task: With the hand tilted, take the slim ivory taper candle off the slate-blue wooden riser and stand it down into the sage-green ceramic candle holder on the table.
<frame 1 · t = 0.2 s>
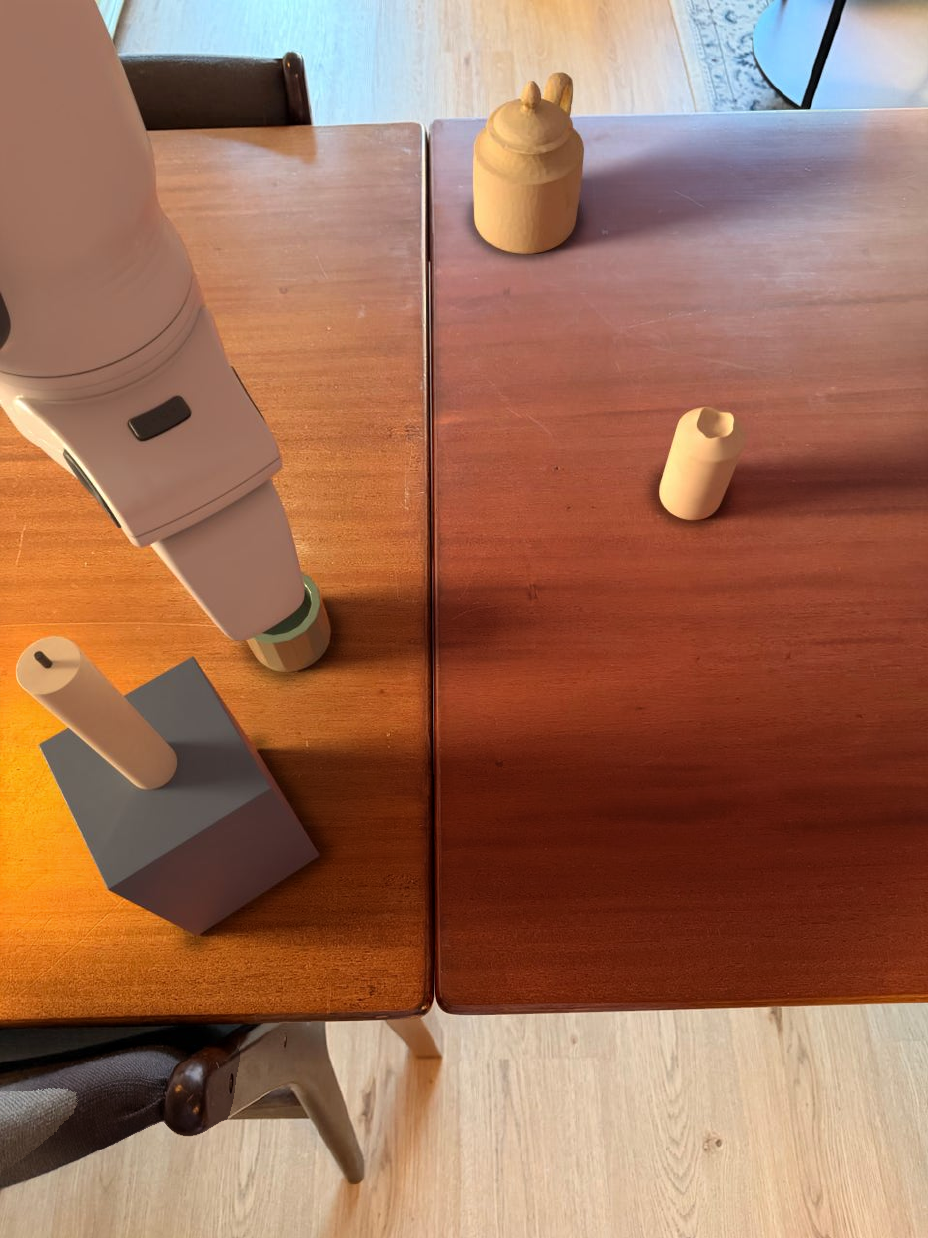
hand: (197, 539, 48), 26 cm above the table, tool pointing down, fingers open, 8 cm apart
taper: (152, 765, 52), point 17 cm above the table, touching riser
riser: (227, 838, 67), on the table
sugar bowl: (523, 208, 98), on the table
holder: (290, 635, 74), on the table
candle: (689, 496, 80), on the table
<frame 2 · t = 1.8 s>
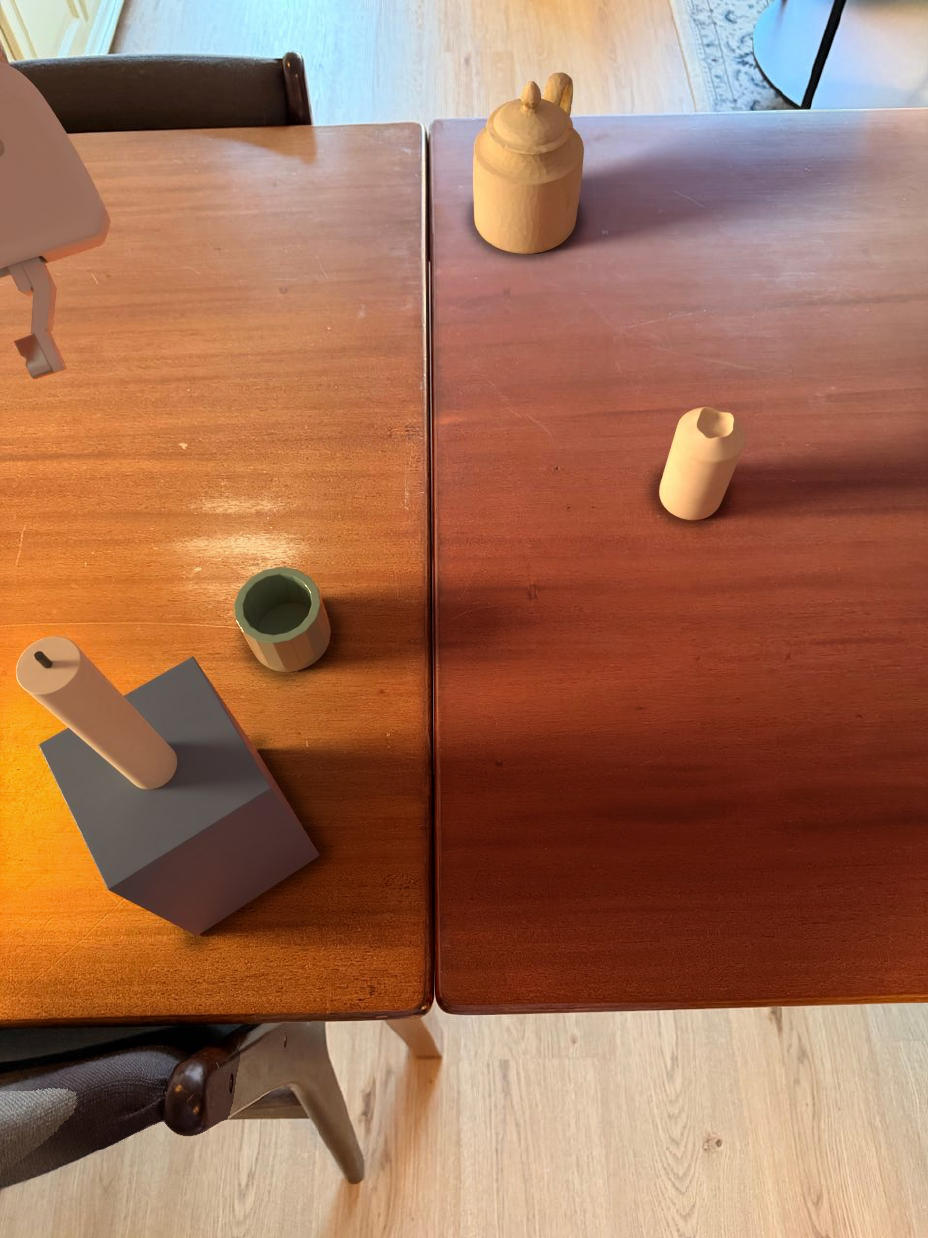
nothing on the table moved.
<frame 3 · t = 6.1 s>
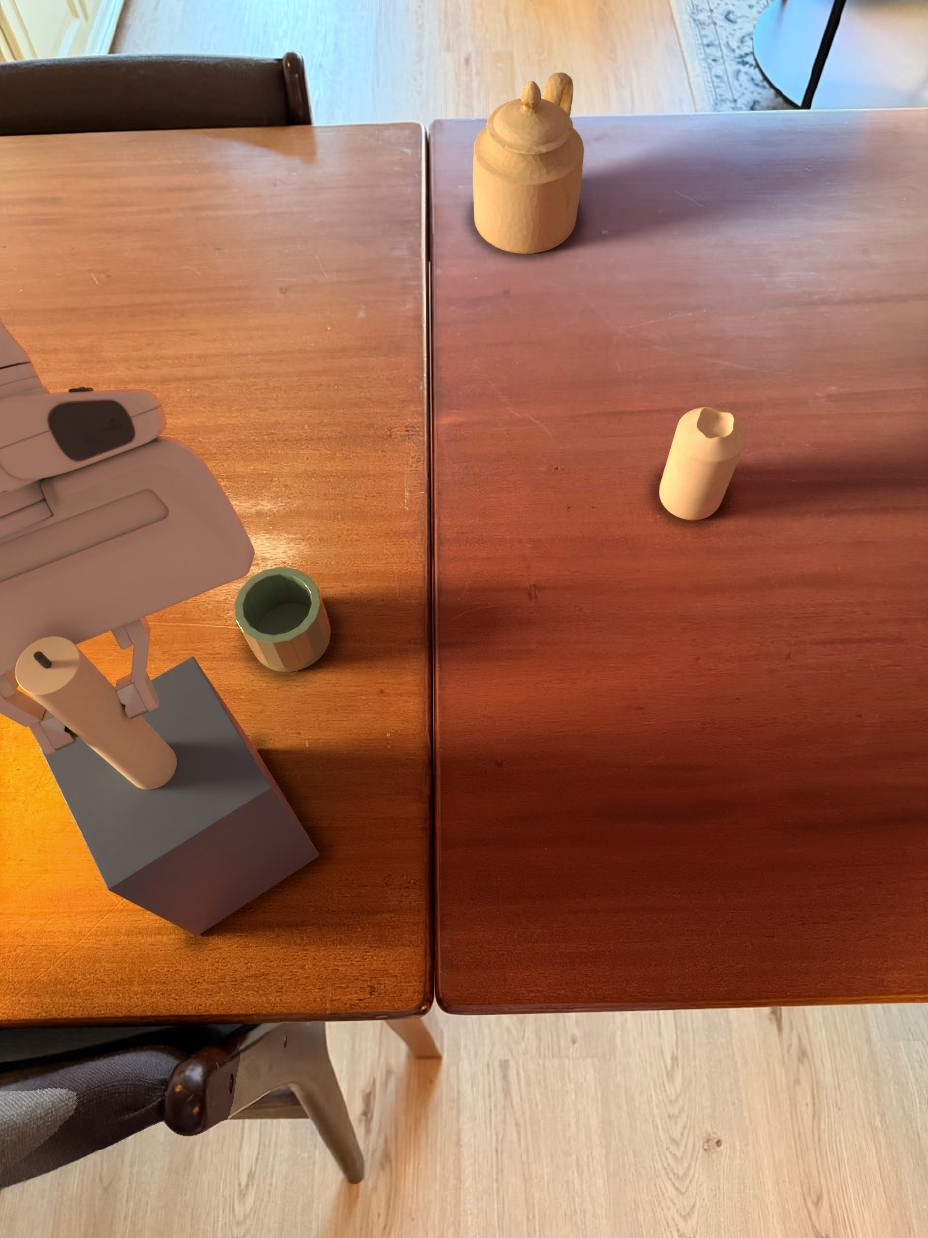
hand: (105, 727, 44), 25 cm above the table, tool tilted 45°, fingers closed on taper, 3 cm apart
taper: (152, 766, 52), point 17 cm above the table, touching gripper, riser
everything else where it was.
when the fingers open (8 cm above the table, at t = 18.9 s): taper stays where it is, resting on holder.
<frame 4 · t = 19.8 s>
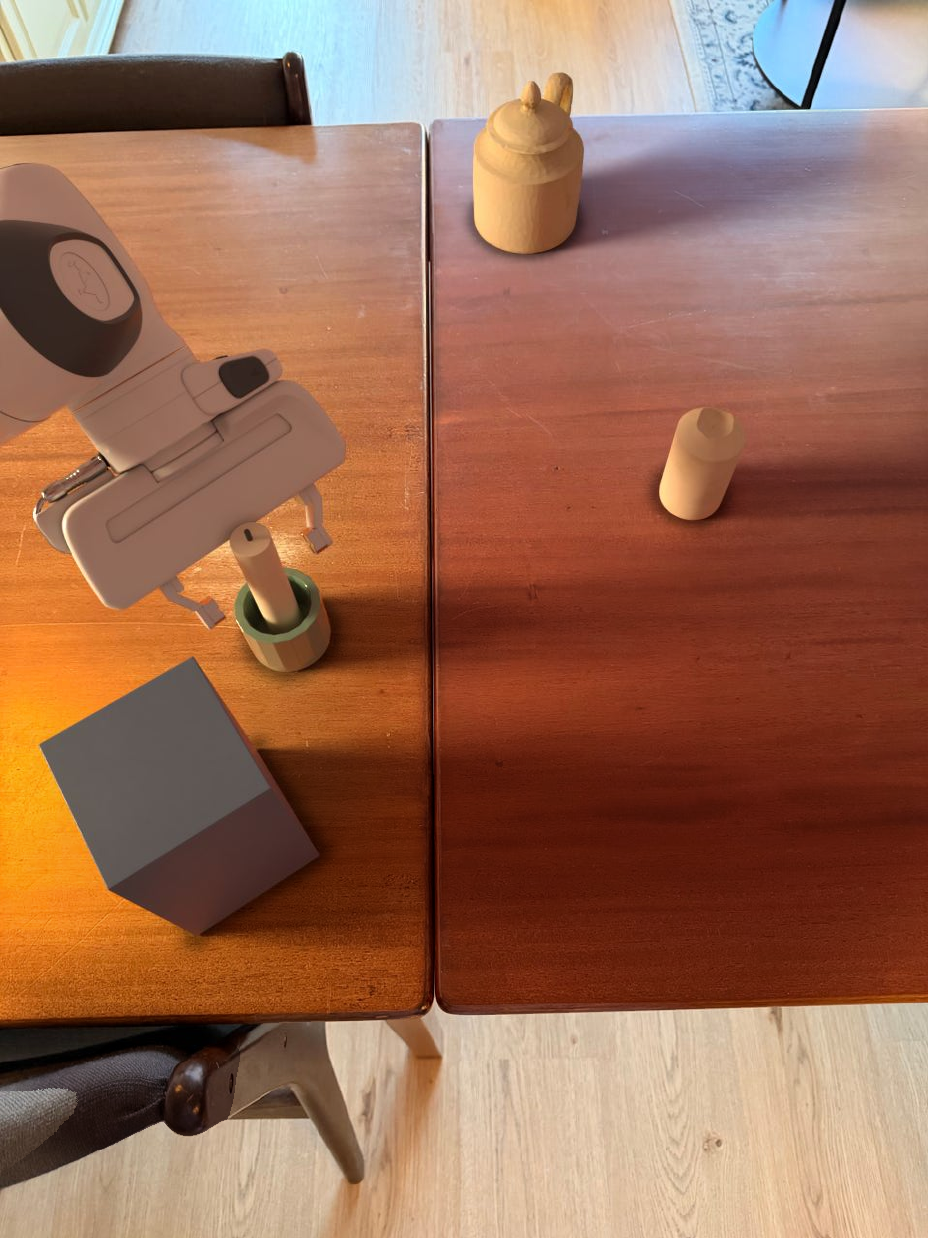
hand: (271, 585, 66), 9 cm above the table, tool tilted 45°, fingers open, 8 cm apart
taper: (289, 631, 74), point 1 cm above the table, touching holder
everything else where it was.
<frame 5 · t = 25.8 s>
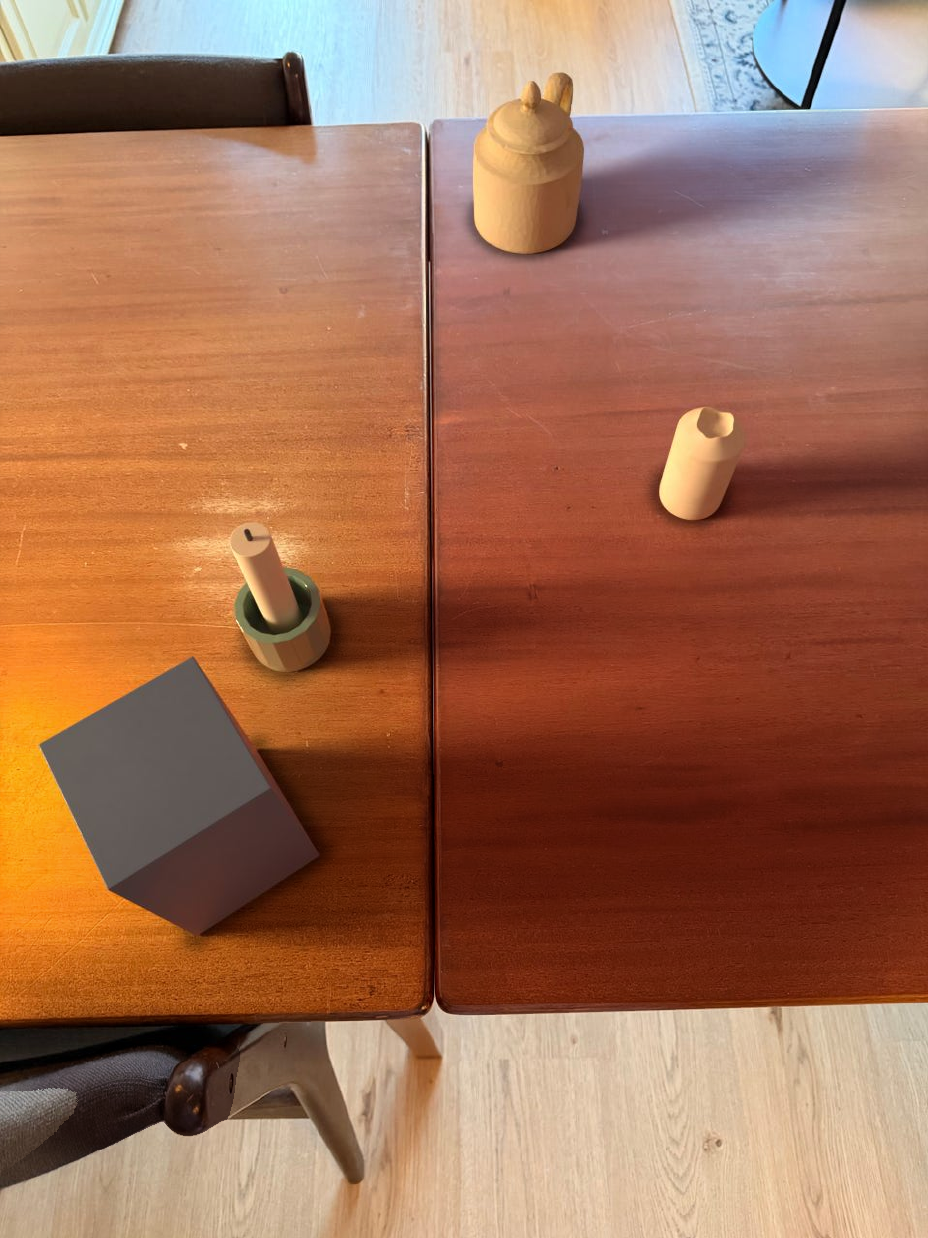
nothing on the table moved.
at the end: taper 0.0 cm off-centre in the holder, point 0.8 cm above the holder's base; taper tilted 0°; the gripper is holding nothing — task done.
